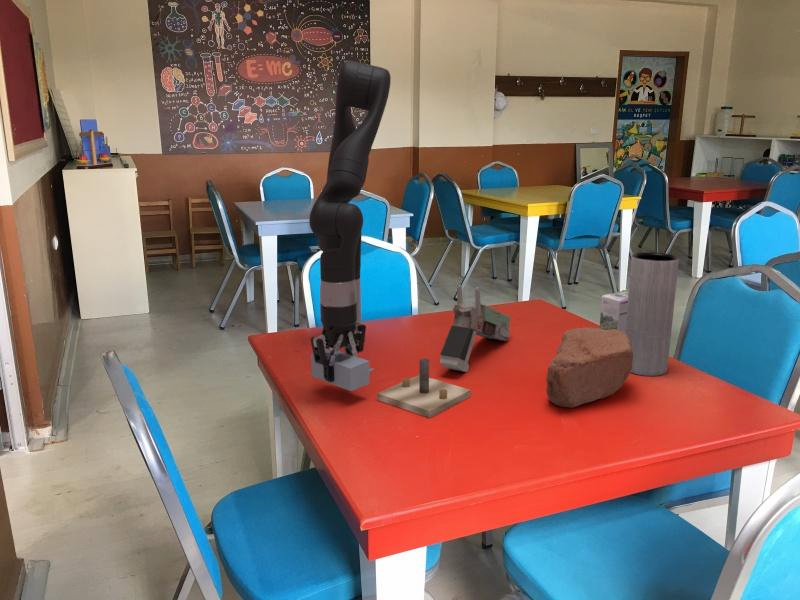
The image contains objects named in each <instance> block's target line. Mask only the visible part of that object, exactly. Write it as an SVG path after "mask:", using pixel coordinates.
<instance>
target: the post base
mask: <svg viewBox="0 0 800 600" xmlns="http://www.w3.org/2000/svg"><path fill="white" fill-rule="evenodd" d="M418 370H419V372H418V373H419V374H418V375H416V376H413V377H411V378H408V377H404V378H403V377H402V380H401V382H400V383H397V384H395V385H392V386H390V387H388V388H386V389H384V390H381V391H379V392H377V394H376V400H377V401H380V402H382V403H386V404H388V405H391V406H394V407H397V408H398V409H399V408H400V409H403V410H405V411H409V412H411V413H413V414H417V415H420V416H423V417H425V418H428V419H431V418H432V417H436V416H437V415H438V414H441V413H442V412H445V411H447V410H448V409H450V408H451V407H453V406H456V405H457V404H460V403H461V402H463V401H465V400H467V399H469V398H470V397H471V394H472V393H471V391H472V390H471V389H469V388H466V387H461V386H458V385H455V384H452V383H448V382H446V381H441V380H439V379H436V378H431V377H430V359H429V358H421V359H419V368H418Z"/></svg>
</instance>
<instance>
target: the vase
mask: <svg viewBox="0 0 800 600" xmlns="http://www.w3.org/2000/svg"><path fill="white" fill-rule="evenodd" d="M679 259H680V258H679V257H678V256H677V255H674V254H669V253H664V252H663V253H662V252H647V251H646V252H636V253H633V254H632V255H631V260H630V269H629V271H630V272H629V281H628V283H629V284H628V294H627V296H628V304H627V315H626V327H625V334H626V335H627V336H628V337H629V339H630V342H631V347H632V351H633V362H632V370H631V372H630V374H634V375H638V376H645V377H646V376H647V377H658V376H662V375H664V374H666V373H667V372H668V366H669V360H670V359H669V357H670V349H671V337H672V328H673V318H674V311H675V300H676V291H677V290H676V289H677V281H678V280H677V279H678V273H679V272H678V270H679V262H680V260H679Z"/></svg>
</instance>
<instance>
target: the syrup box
mask: <svg viewBox="0 0 800 600" xmlns="http://www.w3.org/2000/svg"><path fill="white" fill-rule="evenodd" d="M600 304H601V305H600V315H599V317H600V318H599V327H598V328H599V329H603V330H610V329H616V330H620V331H621V332H623V333H625V327H626V315H627V304H628V295H625V294H621V293H617V292H612V293H610V292H609V293H606V294H603V295H601V302H600Z"/></svg>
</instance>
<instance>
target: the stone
mask: <svg viewBox="0 0 800 600" xmlns="http://www.w3.org/2000/svg"><path fill="white" fill-rule="evenodd" d="M599 328H600V327H591V326H584V327H576V328H575V327H574V328H573V329H568V330H565V331H564V332H563V335H562V337H561V342H560V343H559V345H558V347H557V351H556V356H554V358H552V360H551V362H550V364H549V366H548V367H547V372H546V378H545V379H546V396H547V399H548V400H549V401H550V402H551V403H553V404H554V405H556V406H559V407H563V408H571V409H573V408H575V407H579V406H581V405H584V404H587V403H591V402H594V401H596V400H601V399H605V398H607V397H610V396H612V395H614V394H615V393H616V392H617V391H619V390H620V389H621V388H622V387H623V385H624V384H625V382H626V381H627V378H628V377H629V376H630V375H631V370H632V362H633V351H632V347H631V342H630V339H629V337H628V336H627V335H626V334H625V333H623V332H621V331H620V330H616V329H610V330H603V329H599Z"/></svg>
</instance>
